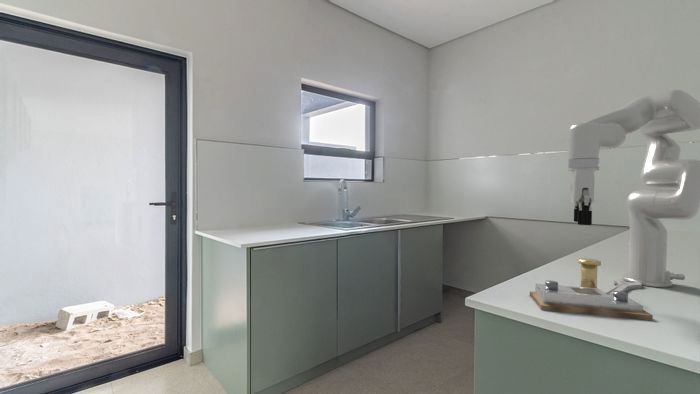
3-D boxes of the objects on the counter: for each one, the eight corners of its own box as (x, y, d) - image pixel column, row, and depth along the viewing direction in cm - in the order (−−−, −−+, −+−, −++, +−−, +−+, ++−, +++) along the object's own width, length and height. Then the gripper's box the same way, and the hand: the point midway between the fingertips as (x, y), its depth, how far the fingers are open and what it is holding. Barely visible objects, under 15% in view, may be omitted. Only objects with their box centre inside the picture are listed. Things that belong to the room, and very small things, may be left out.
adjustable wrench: (613, 302, 93) (613, 296, 93) (587, 296, 99) (587, 290, 99) (644, 287, 107) (644, 282, 107) (619, 282, 112) (619, 277, 112)
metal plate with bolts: (625, 301, 89) (626, 283, 89) (642, 311, 81) (643, 292, 81) (535, 293, 95) (535, 277, 95) (543, 303, 87) (543, 285, 87)
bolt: (595, 290, 102) (595, 259, 102) (603, 296, 97) (604, 262, 96) (574, 289, 104) (575, 257, 103) (581, 294, 98) (582, 261, 98)
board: (626, 303, 91) (626, 299, 91) (652, 320, 79) (652, 315, 79) (529, 295, 97) (529, 291, 97) (541, 309, 86) (541, 305, 86)
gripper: (565, 167, 106) (564, 220, 107) (571, 164, 91) (570, 225, 92) (594, 167, 103) (592, 221, 103) (605, 163, 88) (603, 227, 88)
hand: (582, 223), depth 98 cm, fingers open, 9 cm apart
